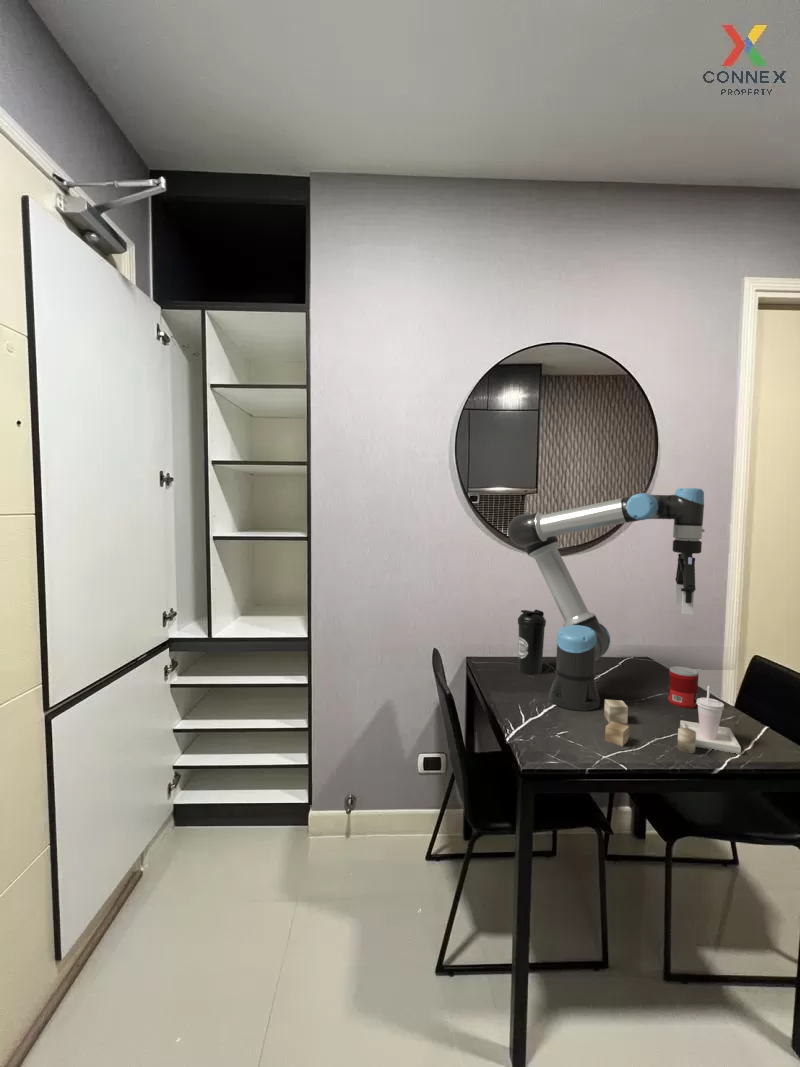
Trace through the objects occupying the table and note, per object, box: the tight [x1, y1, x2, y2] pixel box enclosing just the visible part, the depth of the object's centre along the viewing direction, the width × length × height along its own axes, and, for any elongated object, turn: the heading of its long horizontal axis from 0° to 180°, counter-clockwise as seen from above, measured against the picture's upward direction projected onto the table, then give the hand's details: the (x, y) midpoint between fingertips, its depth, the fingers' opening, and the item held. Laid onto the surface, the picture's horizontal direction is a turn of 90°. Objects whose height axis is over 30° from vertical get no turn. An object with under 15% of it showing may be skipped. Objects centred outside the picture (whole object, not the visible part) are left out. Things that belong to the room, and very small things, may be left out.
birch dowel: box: [676, 727, 696, 755], centre depth 127 cm, size 4×4×5 cm
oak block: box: [604, 721, 630, 747], centre depth 131 cm, size 4×4×4 cm
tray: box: [679, 719, 742, 755], centre depth 133 cm, size 12×12×2 cm
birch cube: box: [603, 698, 629, 725], centre depth 144 cm, size 5×5×5 cm
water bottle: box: [517, 609, 547, 676], centre depth 185 cm, size 10×10×23 cm
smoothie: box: [696, 685, 725, 740], centre depth 133 cm, size 6×6×14 cm
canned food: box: [667, 665, 699, 709], centre depth 157 cm, size 8×8×11 cm
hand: (683, 609), depth 149 cm, fingers open, 13 cm apart
